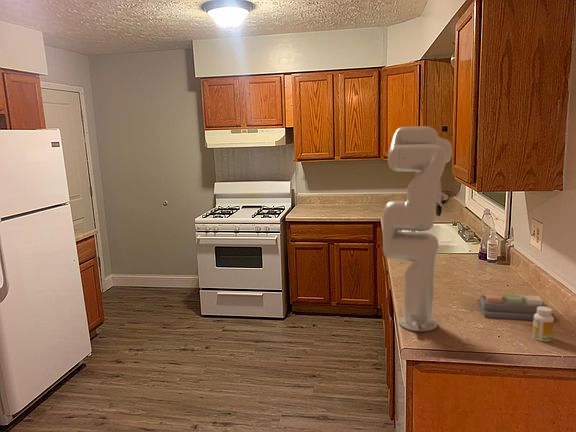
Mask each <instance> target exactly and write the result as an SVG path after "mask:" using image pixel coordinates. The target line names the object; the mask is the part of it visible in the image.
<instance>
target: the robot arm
mask: <svg viewBox="0 0 576 432" xmlns="http://www.w3.org/2000/svg"><path fill="white" fill-rule="evenodd" d="M452 154H453V147H452V143H451V141H450V140H448V139H446V138H443V137H439V134H438V132H437V130H436V129H435V128H433V127H431V126H427V125H426V126H425V125H421V126H419V125H418V126H401V127H398V128H397V129H396V130H395V132H394V133H393V135H392V139H391V142H390V146H389V150H388V155H387V164H388V167H389V168H390V169H391V170H392V171H393V172H410V173H411V172H414V174H415V177H413V179H412V180H411V181H410V183H409V184H408V186H407V188H406V196H405V198H406V200H392V201H389V202H387V203H385V205H384V208H383V212H382V250H383V256H384V257H386V258H387V259H388V260H392V261H393V260H395V261H408V262H412V263H410V264H409V266H408V267H407V268H406V269H405V271H404V274H403V276H404V277H403V307H402V308H403V309H402V310H403V311H402V312H403V314H402V315H400V316H398V320H397V321H398V324H399V326H401V327H402V328H404V329H405V330H408V331H413V332H423V333H424V332H430V331H434V330H435V329H436V328H438V320H436V318H434V317H433V316H434V315H433V314H434V312H433V311H434V289H435V287H434V285H435V270H436V262H437V257H438V252H439V251H438V250H439V240H438V238H437V237H436V236H435V235H433V234H431V233H429V232H427V231H431V229H432V228H433V227H434V223H435V218H436V217H435V216H438V217H441V214H442V212H443V211H442V209H443V208H442V207H443V206H444V204H445V203H446V202H447V200H448V199H449V194H446V193H444V192H442V184H441V177H442V175H443V172H444V170H445V167H446V164H448V163H449V162H450V161H451V159H452ZM442 197H443V198H442ZM425 231H426V232H425Z"/></svg>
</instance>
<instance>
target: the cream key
mask: <svg viewBox="0 0 576 432" xmlns="http://www.w3.org/2000/svg"><path fill="white" fill-rule="evenodd" d="M523 296H524V297H523V298H524V301H525V303H526V304H527V305H540V306H543V302H544V300H543V299H542V297H540V296H539V295H529V294H528V295H525V294H524V295H523Z"/></svg>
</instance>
